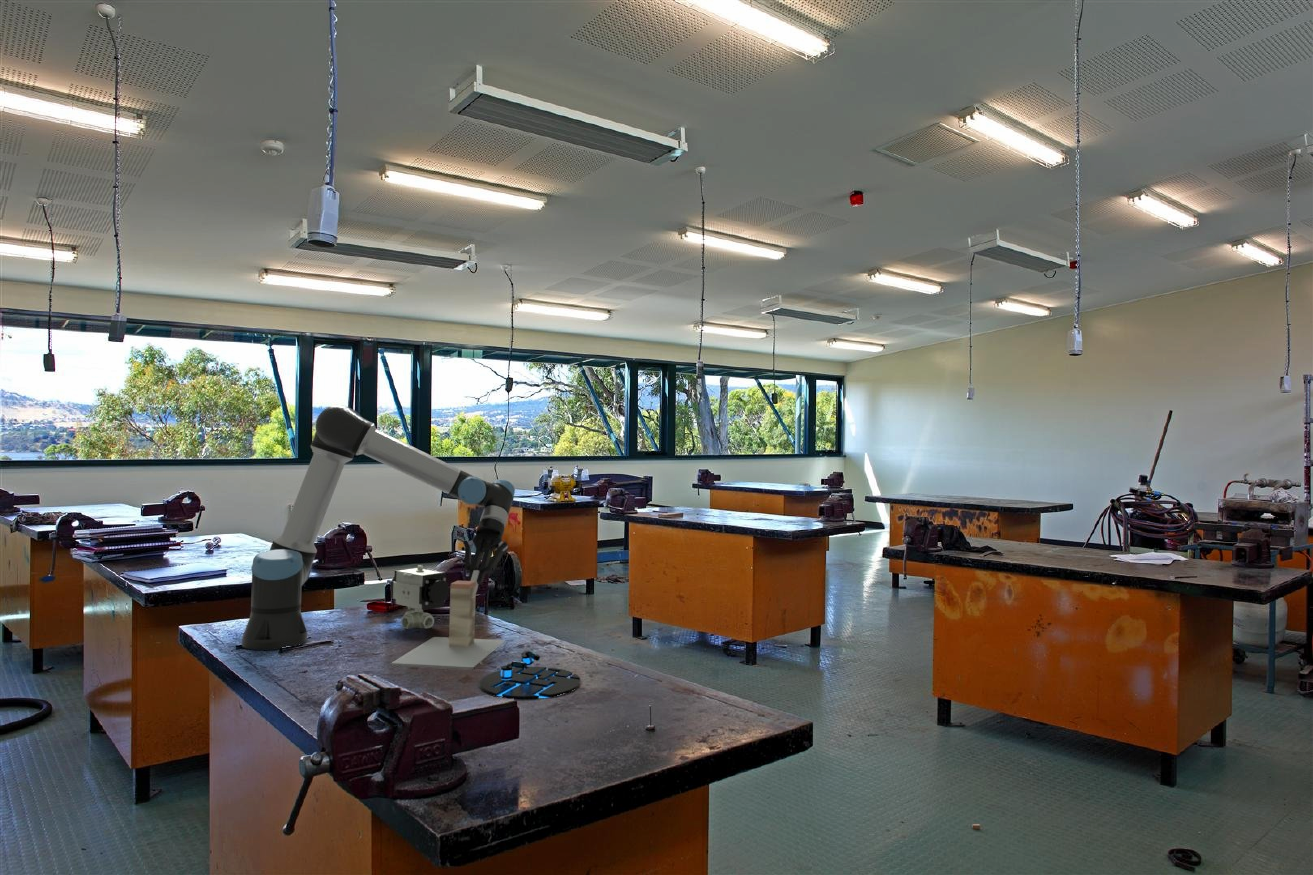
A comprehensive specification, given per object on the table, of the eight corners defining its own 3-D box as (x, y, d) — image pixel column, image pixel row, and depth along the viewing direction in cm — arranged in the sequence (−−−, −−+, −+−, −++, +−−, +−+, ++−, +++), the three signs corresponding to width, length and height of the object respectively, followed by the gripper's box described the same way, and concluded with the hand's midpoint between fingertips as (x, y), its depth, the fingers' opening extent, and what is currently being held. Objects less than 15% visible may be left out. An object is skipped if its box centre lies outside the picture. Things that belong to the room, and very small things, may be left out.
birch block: (455, 641, 201) (457, 580, 201) (474, 642, 200) (475, 581, 201) (448, 646, 196) (450, 583, 196) (467, 646, 195) (469, 584, 196)
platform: (596, 677, 175) (597, 649, 175) (551, 706, 154) (552, 674, 154) (512, 666, 182) (513, 639, 182) (459, 692, 161) (459, 662, 162)
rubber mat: (433, 639, 205) (433, 636, 205) (505, 642, 203) (505, 640, 203) (390, 665, 179) (390, 662, 179) (473, 669, 177) (473, 667, 177)
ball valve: (384, 625, 219) (386, 564, 219) (409, 621, 226) (410, 561, 226) (424, 635, 209) (426, 570, 209) (449, 630, 215) (450, 567, 216)
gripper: (516, 534, 223) (497, 601, 206) (473, 532, 225) (451, 600, 208) (511, 517, 218) (492, 585, 201) (467, 516, 219) (444, 583, 202)
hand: (471, 592), depth 204 cm, fingers closed
